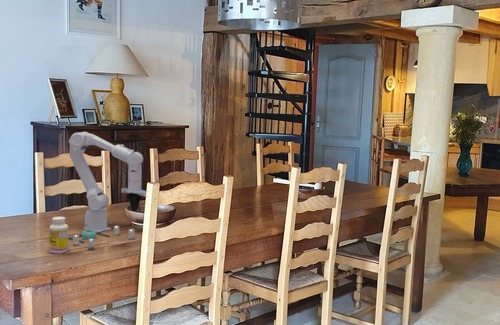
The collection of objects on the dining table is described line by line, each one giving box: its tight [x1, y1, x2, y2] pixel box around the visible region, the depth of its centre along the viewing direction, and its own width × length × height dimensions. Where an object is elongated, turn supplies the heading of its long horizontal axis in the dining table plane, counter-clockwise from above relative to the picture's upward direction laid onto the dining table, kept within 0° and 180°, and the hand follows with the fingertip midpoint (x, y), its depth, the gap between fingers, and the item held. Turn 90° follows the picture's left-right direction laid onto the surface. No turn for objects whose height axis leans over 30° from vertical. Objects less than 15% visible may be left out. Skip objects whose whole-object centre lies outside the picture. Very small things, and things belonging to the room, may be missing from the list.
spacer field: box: [72, 224, 135, 251], centre depth 217 cm, size 11×23×4 cm, turn 147°
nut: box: [81, 229, 97, 241], centre depth 222 cm, size 6×6×3 cm
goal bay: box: [68, 232, 110, 244], centre depth 222 cm, size 9×14×1 cm
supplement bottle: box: [48, 216, 69, 254], centre depth 201 cm, size 7×7×13 cm
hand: (134, 210), depth 235 cm, fingers closed
